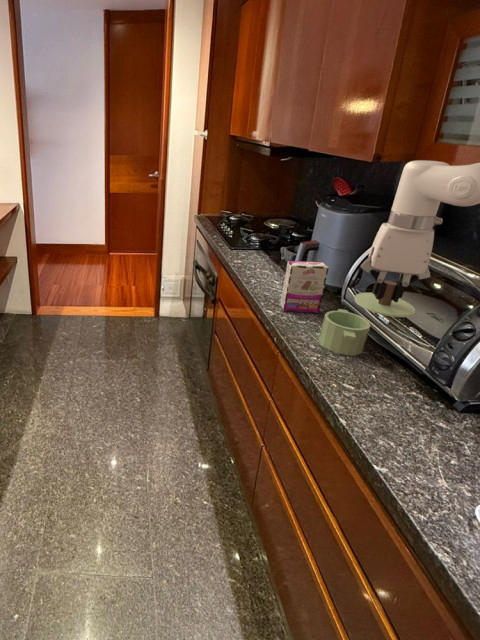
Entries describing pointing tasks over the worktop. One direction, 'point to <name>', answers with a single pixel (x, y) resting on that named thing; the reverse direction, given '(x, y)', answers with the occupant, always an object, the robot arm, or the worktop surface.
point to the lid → (385, 302)
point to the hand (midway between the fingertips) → (385, 297)
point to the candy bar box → (303, 286)
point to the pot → (344, 332)
